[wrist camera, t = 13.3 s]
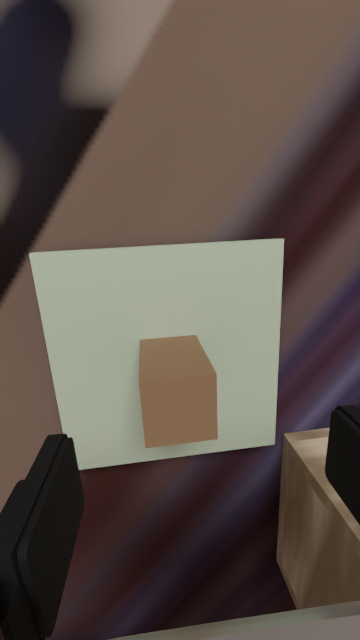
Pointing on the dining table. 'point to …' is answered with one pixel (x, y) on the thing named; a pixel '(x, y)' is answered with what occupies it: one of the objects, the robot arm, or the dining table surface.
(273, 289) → the lid
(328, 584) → the box
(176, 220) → the dining table surface
